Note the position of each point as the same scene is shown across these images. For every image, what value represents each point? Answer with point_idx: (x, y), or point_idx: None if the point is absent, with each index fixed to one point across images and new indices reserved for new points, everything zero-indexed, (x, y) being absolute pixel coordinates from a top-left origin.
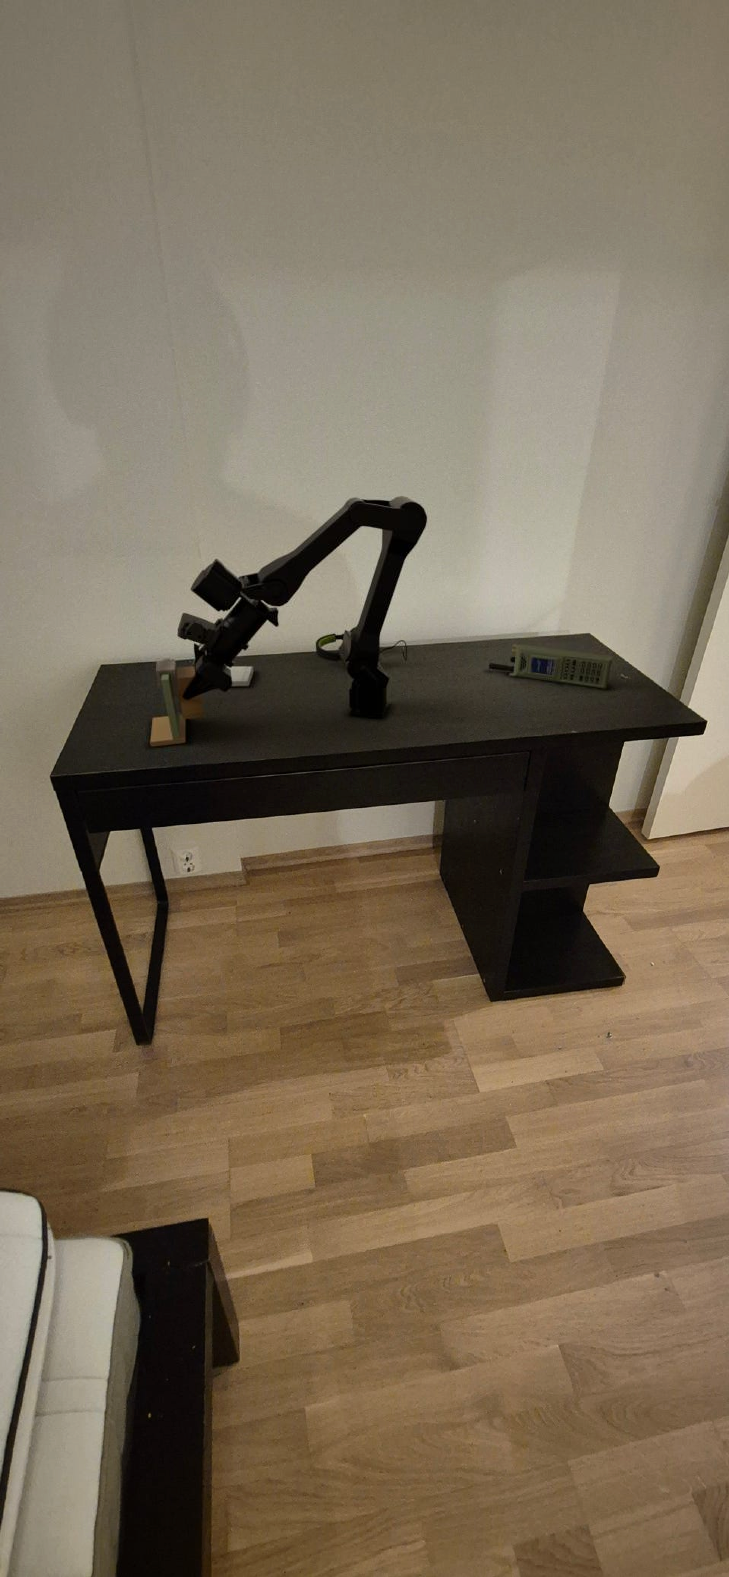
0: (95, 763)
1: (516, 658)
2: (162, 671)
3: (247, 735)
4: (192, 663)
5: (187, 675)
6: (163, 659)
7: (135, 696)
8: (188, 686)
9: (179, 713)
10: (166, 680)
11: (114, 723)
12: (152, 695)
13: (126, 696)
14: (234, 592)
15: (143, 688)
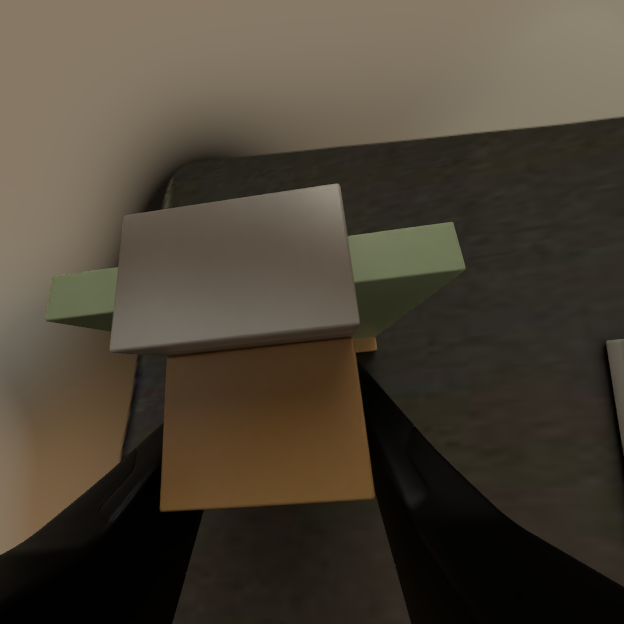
0: (198, 200)
1: None
2: (121, 261)
3: (250, 541)
4: (432, 459)
5: (191, 434)
6: (439, 225)
7: (524, 203)
8: (163, 425)
9: (365, 336)
10: (55, 308)
11: (367, 192)
12: (534, 242)
13: (523, 183)
14: None
15: (583, 211)
